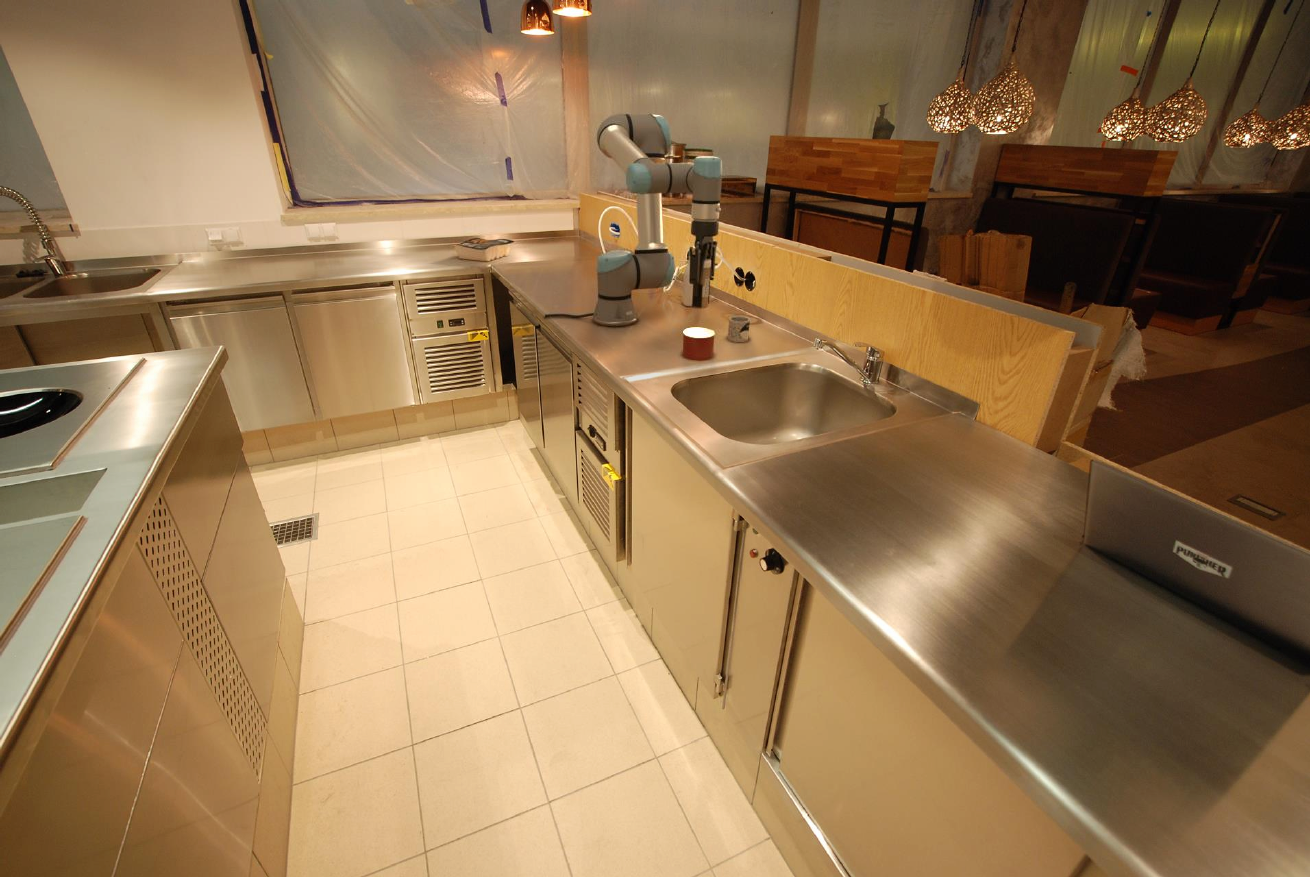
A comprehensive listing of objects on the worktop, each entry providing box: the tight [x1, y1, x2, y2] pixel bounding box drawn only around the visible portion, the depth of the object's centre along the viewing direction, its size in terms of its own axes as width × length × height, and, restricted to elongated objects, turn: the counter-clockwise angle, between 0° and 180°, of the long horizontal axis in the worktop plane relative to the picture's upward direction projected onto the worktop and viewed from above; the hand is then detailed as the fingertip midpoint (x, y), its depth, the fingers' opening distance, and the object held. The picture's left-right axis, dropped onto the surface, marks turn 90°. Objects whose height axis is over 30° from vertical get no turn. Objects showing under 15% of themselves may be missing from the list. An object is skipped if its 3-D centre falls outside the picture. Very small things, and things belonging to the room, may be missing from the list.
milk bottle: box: [682, 250, 693, 307], centre depth 219 cm, size 8×8×20 cm
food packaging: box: [448, 237, 516, 262], centre depth 294 cm, size 25×8×23 cm
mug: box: [727, 315, 751, 343], centre depth 187 cm, size 10×7×7 cm, turn 148°
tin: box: [682, 327, 716, 361], centre depth 172 cm, size 9×9×7 cm
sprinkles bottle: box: [694, 259, 711, 309], centre depth 164 cm, size 5×5×13 cm
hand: (700, 304), depth 167 cm, fingers closed on sprinkles bottle, 4 cm apart
